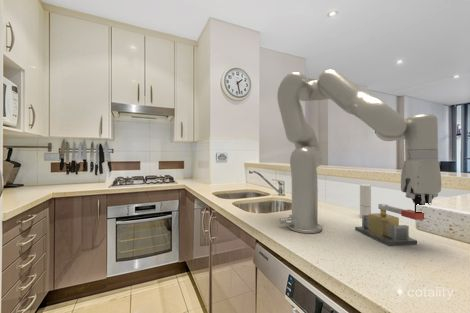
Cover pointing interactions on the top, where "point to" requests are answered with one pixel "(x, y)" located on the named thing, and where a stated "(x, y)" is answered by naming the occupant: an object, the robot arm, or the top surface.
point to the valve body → (385, 229)
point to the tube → (365, 199)
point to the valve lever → (403, 212)
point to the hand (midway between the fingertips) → (422, 217)
